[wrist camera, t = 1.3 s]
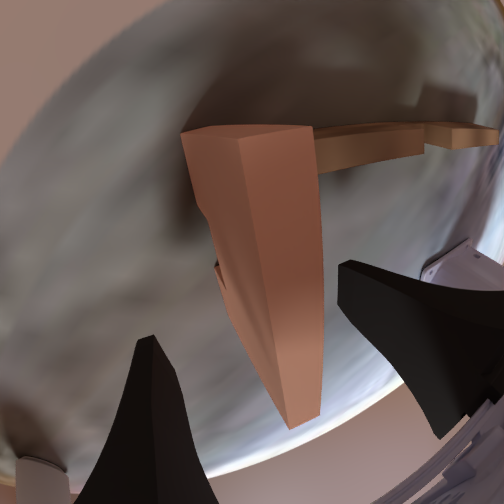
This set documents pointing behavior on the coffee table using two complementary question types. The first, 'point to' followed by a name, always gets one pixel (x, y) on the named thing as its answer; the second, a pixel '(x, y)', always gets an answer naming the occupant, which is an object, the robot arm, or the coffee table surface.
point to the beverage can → (40, 482)
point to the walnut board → (392, 141)
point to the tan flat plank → (267, 250)
